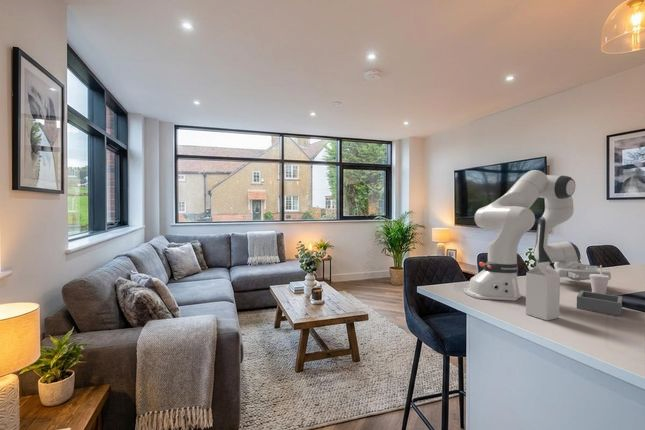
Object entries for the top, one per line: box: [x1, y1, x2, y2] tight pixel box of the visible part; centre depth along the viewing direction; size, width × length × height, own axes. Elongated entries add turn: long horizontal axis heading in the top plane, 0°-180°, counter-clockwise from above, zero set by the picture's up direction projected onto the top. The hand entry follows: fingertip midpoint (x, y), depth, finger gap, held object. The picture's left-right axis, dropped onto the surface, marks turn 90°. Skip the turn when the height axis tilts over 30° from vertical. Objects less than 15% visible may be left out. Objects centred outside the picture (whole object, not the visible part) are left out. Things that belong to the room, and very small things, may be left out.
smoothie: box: [589, 264, 609, 294], centre depth 129 cm, size 6×6×14 cm
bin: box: [576, 290, 623, 317], centre depth 116 cm, size 12×12×4 cm
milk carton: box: [525, 262, 561, 321], centre depth 107 cm, size 7×7×19 cm
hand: (589, 277), depth 136 cm, fingers open, 8 cm apart
